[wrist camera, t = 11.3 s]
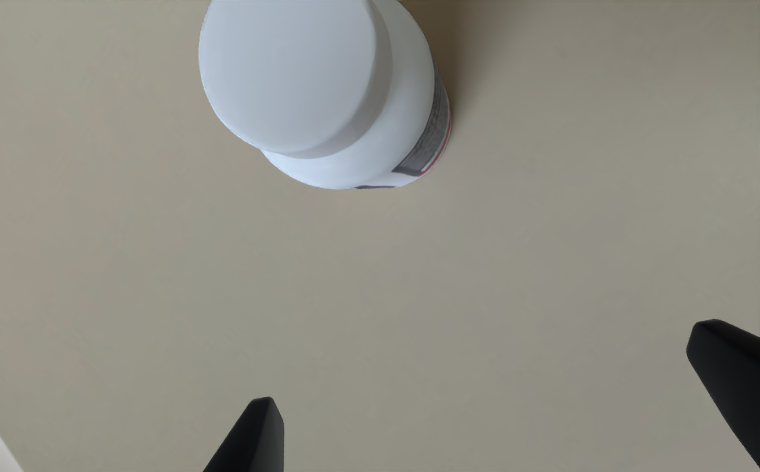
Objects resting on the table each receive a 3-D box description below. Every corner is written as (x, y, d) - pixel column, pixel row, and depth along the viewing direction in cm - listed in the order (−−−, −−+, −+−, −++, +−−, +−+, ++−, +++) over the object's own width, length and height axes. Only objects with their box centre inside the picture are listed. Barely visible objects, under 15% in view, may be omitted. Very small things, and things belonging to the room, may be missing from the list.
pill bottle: (413, 32, 17) (328, -160, 8) (476, 147, 17) (469, 95, 8) (307, 104, 19) (125, 17, 9) (365, 211, 18) (242, 234, 9)
